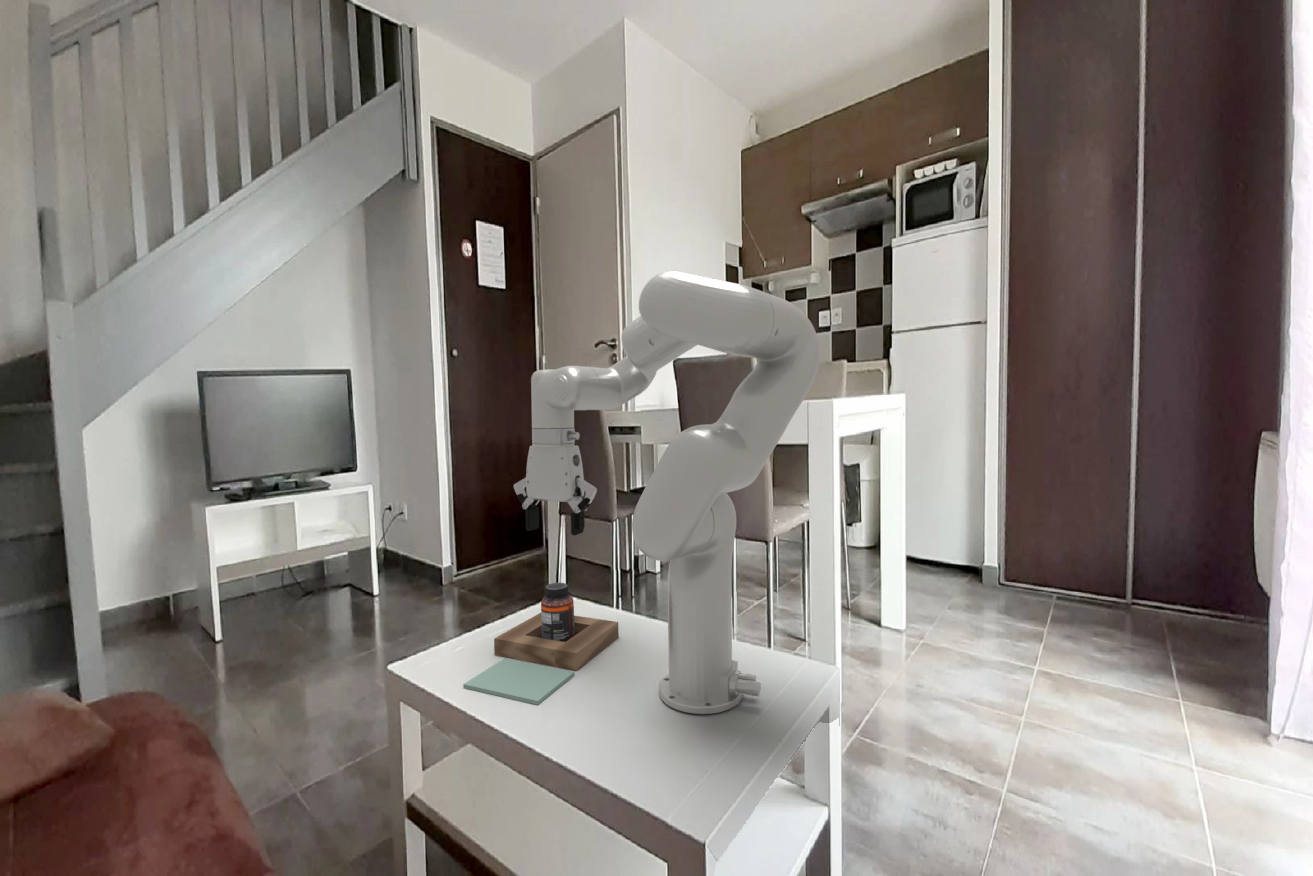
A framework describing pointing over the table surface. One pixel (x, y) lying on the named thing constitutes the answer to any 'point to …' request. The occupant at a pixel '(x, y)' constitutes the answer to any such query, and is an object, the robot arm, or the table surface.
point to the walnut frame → (557, 643)
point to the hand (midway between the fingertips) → (554, 531)
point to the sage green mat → (519, 681)
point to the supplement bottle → (557, 613)
